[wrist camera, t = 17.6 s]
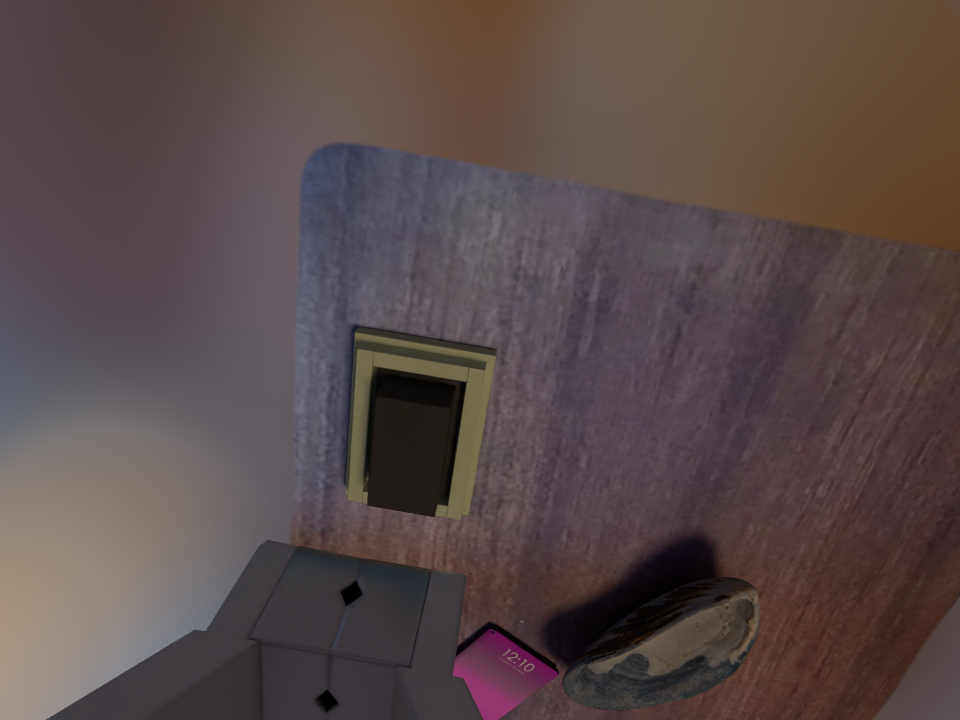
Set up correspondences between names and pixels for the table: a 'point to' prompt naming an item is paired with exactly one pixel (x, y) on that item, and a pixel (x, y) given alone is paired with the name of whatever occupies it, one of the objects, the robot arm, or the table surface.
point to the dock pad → (427, 363)
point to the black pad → (409, 444)
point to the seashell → (669, 647)
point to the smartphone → (501, 672)
